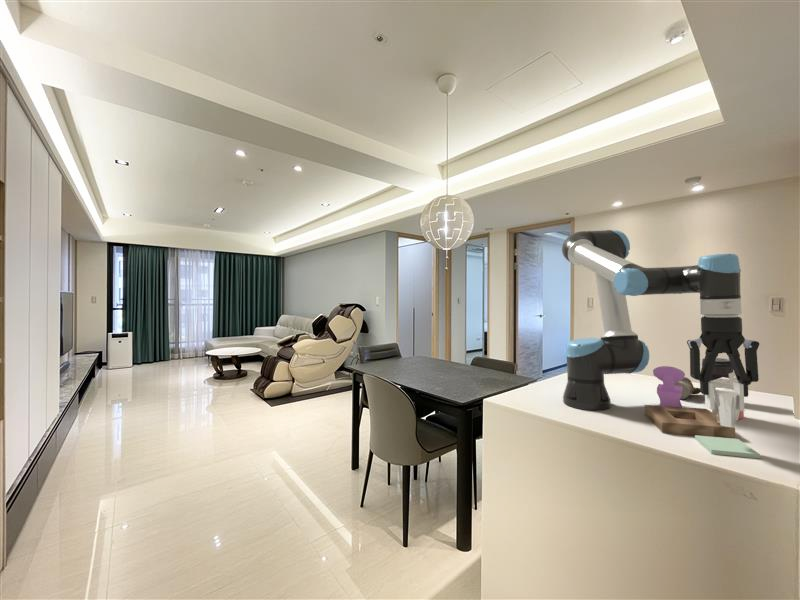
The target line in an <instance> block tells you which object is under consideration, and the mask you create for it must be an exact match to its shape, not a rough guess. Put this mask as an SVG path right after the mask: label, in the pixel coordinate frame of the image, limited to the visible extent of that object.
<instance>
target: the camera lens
mask: <svg viewBox="0 0 800 600" xmlns="http://www.w3.org/2000/svg"><path fill="white" fill-rule="evenodd" d="M704 359H705V357H704V358H702V361H701V367H702V366H703V362H704ZM732 372H734V370H733V367H732V365H731V362H730V360H729V358H722V357H721V358H719V357H716V360H715V363H714V367H713V370H712V373H711V377H710V380H709V382H710V381H713V380H716V379H719V378H722V377H725V378H729V373H732Z"/></svg>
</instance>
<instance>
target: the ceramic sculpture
mask: <svg viewBox="0 0 800 600" xmlns="http://www.w3.org/2000/svg"><path fill="white" fill-rule="evenodd" d="M675 386H682V389H683V391H682V394H681V398H680V400H685V399H687V398H688V397H689V396H690V395H698V394H701V392H700V387H694V385H693V383H692V381H691V379H690V378H688V377H686V376H685V377H684V378H683V379H682V380H680V381H679V382H676V383H675Z"/></svg>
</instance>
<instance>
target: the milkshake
mask: <svg viewBox="0 0 800 600" xmlns="http://www.w3.org/2000/svg"><path fill="white" fill-rule="evenodd" d="M713 388H714V390H713V391H714V402H715V408H716V415H717V422H718V424H719V425H721V426H725V427H734V428H736V422H737V421H736V406H737V396H738V394H737V393H736V392H735V391H734V390H732V389H726V388H715V387H714V386H713Z"/></svg>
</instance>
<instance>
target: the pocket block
mask: <svg viewBox="0 0 800 600" xmlns="http://www.w3.org/2000/svg"><path fill="white" fill-rule="evenodd" d="M644 415H646V417H647V418H648V419H649V420H650V421H651V422H652V423H653V424H654V425H655V427H656V428H657V429H658V430H660V432H661V433H663V434H671V435H683V436H694V437H695V435H698V436H709V437H721V438H732V439H736V427H725V426H721V425H719V424H718V422H717V416H716V415H715V414H713V413H712V411H711V410H710V409H707V408H701V407H699V408H697V407H685V406H682V407H671V406H660V405H655V404H654V405H653V404H644Z"/></svg>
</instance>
